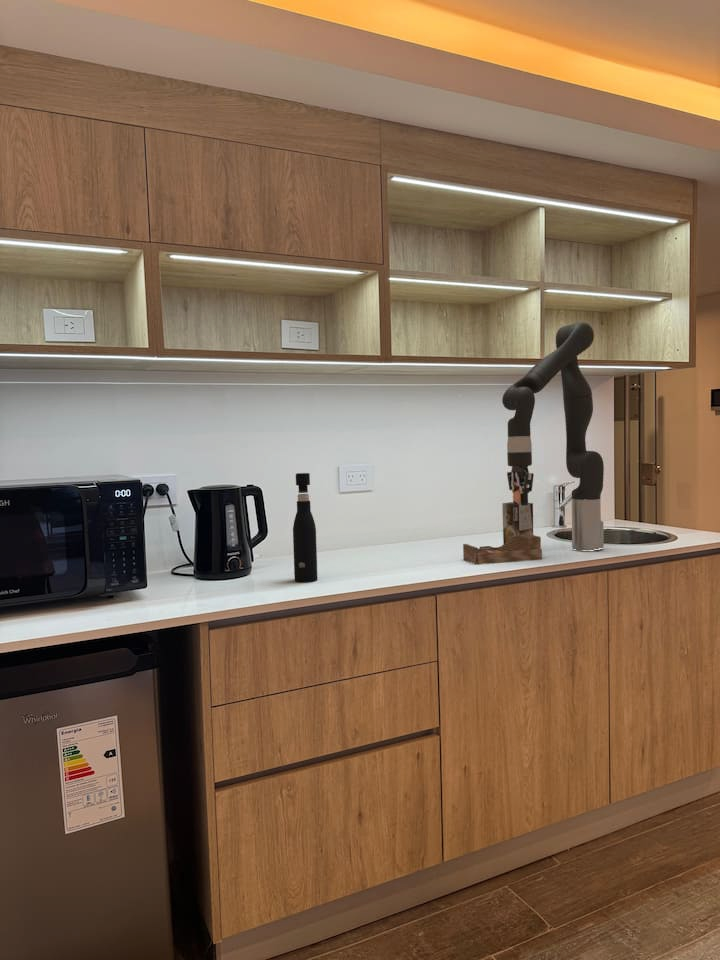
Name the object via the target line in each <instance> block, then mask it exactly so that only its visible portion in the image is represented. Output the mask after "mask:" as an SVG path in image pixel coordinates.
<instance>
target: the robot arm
mask: <svg viewBox="0 0 720 960" xmlns="http://www.w3.org/2000/svg"><path fill="white" fill-rule="evenodd" d="M594 339H595V333H594V330H593V327H592V326H591V325H590V324H589V323H587V322H575V323H571V324H568V325H563V326H561V327H560V328H559V329H557V332H556V335H555V347H556V349H555V350H553V351H552V352H550V353H549V354H548V355H546V356H545V357H543V358H542V359H541V360H539V361H537V363H536V364H535V365H533V367H532V368H531V369H530V370H529V371H528V372H527V373H526V374H525V375H524V376H523V377H521V378H520V379H518V380H517V381H516V382H514V383H513V384H512V385H510V386H509V387H508V388H507V389H505V390H506V391H504V393H503V395H502V399H501V402H502V405H503V407H504V408H505V409H506V410H508V411H514V412H515V413H514V416H513V417H511V418H510V419H508V421H507V443H506V449H507V450H506V451H507V455H506V457H507V459H506V460H507V466H508V467H511V471H507V473H506V476H507V482H508V489H509V491H511V492H512V495H513V494H514V492H515V491H516V490H519V489H520V493H521V494H520V497H521V505H522V506H525V505H528V503H529V493H530V492H532V491H533V483H534V476H535V475H534V473H533V472H530V471H529V466H532V465H533V455H532V453H533V451H532V450H533V448H532V447H533V444H532V439H531V436H532V435H531V421H532V417H533V414H534V409H535V406H536V405H535V404H536V397H535V394H538V393H540V392H542V390H543V389H544V388H545V387H546V386H547V385H548V384H549V382H551V381H552V379H553V378H554V377H556V375H558V374H559V372H560V376H561V377H560V378H561V385H562V400H563V410H564V420H565V421H564V422H565V434H566V435H565V436H566V437H565V438H566V443H565V444H566V447H565V449H566V450H565V465H566V470H567V472H568V474H569V475H570V476H571V477H573V478H574V479H575V478H576V479H579V485H578V486H577V487H576V488H574V489H573V490H572V491H571V546H572V547H571V549H572V550H573V549H576V550H594V549H599V548H603V547H604V546H605V545H604V543H605V542H604V539H605V538H604V534H605V533H604V521H603V520H602V519H601V518H602V517H601V516H602V514H601V509H602V508H601V507H602V506H601V505H602V504H601V501H602V499H601V498H602V497H601V494H602V492H603V489H604V475H605V473H604V472H605V470H604V469H605V467H604V466H605V465H604V458H602V455H601V454H600V453H599V452H597V451H594V450H587V442H586V435H587V431H588V428H589V425H590V423H591V419H592V417H593V412H594V402H593V401H594V400H593V392H592V389H591V386H590V384H589V383H588V381H587V379H586V378H585V376H584V375H583V373H582V371H581V369H580V366H579V362H578V360H579V359H578V356H579V355H580V354H582V353H584V352H585V351H587V350H588V348H590V347H591V345H592V344H593V342H594ZM512 500H513V499H512ZM512 502H513V503H514V504H518V503H516V502H515V501H514V500H513V501H512ZM604 548H605V547H604ZM576 550H575V551H576Z"/></svg>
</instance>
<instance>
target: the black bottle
mask: <svg viewBox="0 0 720 960" xmlns="http://www.w3.org/2000/svg"><path fill="white" fill-rule="evenodd" d="M310 474H311V473H309V472H299V473H296V474H295V485H296V486H298V494H297V501H296V514H295V517H294V520H293V526H292V543H293V544H292V545H293V567H294V568H293V569H294V572H293V574H294V576H293V577H294V582H296V583H303V584H304V583H305V584H306V583H313V582H317V581H318V579H319V578H318V552H317V549H318V548H317V527H316V523H315V520H314V516H313V513H312V511H311V509H312V508H311V500H310V495H309V493H308V492H309V490H308V486H310V485H311V482H310V481H311V479H310V478H311V477H310Z"/></svg>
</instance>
